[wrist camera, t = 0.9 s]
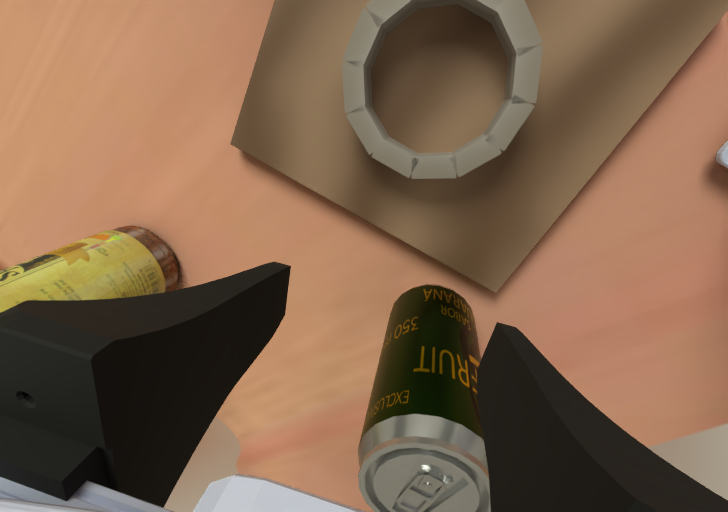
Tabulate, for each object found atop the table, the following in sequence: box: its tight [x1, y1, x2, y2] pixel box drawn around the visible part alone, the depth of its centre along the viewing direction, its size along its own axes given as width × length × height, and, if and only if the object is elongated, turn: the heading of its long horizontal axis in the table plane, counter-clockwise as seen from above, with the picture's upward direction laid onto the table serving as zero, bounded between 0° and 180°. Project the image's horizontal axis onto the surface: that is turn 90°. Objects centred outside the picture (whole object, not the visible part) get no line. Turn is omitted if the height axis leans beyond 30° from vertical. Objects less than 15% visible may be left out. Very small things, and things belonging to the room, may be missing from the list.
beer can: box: [358, 284, 491, 512], centre depth 18 cm, size 5×5×12 cm
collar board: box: [230, 0, 728, 293], centre depth 17 cm, size 18×16×3 cm
